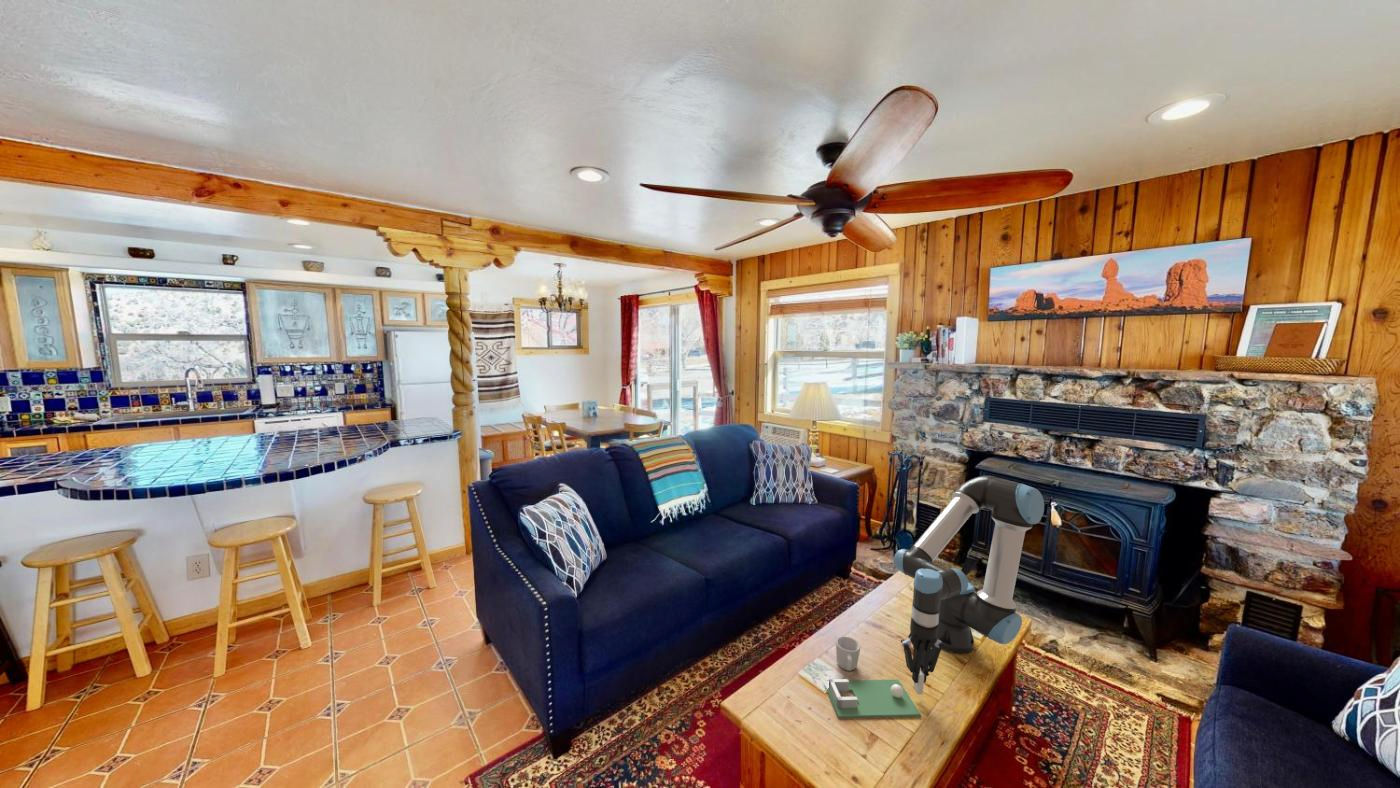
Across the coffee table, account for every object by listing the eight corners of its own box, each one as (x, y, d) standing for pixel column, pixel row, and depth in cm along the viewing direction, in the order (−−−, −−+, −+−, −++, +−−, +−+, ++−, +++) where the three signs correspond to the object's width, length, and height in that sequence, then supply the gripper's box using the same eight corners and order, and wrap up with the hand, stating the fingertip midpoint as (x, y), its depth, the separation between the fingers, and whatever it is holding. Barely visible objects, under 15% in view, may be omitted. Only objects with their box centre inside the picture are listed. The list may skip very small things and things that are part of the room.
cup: (861, 681, 150) (863, 659, 149) (836, 677, 151) (837, 655, 150) (857, 659, 160) (858, 638, 159) (833, 655, 162) (835, 634, 161)
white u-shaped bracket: (846, 689, 146) (847, 679, 146) (857, 710, 138) (857, 699, 138) (828, 689, 146) (829, 679, 146) (837, 710, 138) (838, 700, 137)
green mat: (898, 681, 150) (898, 679, 150) (920, 716, 136) (920, 714, 136) (823, 682, 149) (823, 680, 149) (838, 718, 135) (838, 715, 135)
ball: (899, 691, 145) (900, 681, 144) (905, 700, 141) (905, 690, 141) (888, 691, 145) (889, 681, 144) (893, 700, 141) (894, 690, 141)
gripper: (938, 613, 144) (931, 681, 147) (897, 613, 144) (892, 682, 146) (952, 628, 137) (945, 700, 140) (910, 628, 136) (903, 700, 139)
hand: (917, 691), depth 143 cm, fingers closed
